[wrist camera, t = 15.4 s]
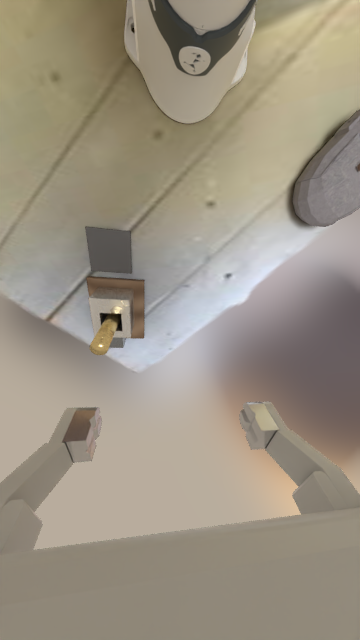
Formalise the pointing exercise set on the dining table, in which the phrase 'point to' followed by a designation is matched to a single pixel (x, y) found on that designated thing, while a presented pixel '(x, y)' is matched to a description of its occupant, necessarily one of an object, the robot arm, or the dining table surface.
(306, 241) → the dining table surface
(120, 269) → the rubber mat
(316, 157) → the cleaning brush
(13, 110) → the dining table surface
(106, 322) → the brass pin
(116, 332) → the block
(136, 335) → the walnut base
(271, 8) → the dining table surface
